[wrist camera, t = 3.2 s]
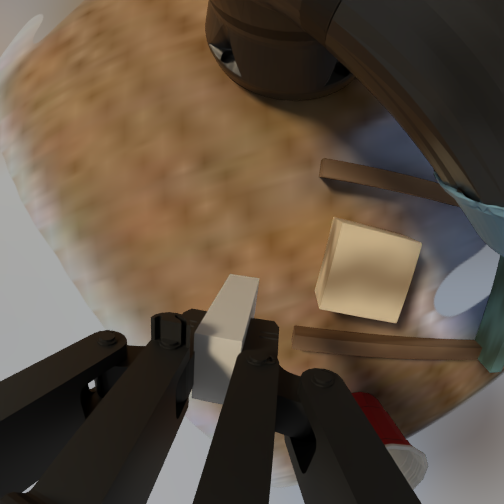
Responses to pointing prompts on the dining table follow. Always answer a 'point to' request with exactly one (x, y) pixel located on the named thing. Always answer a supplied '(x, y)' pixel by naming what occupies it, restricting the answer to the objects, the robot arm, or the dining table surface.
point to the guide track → (371, 345)
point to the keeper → (366, 271)
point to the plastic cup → (393, 439)
